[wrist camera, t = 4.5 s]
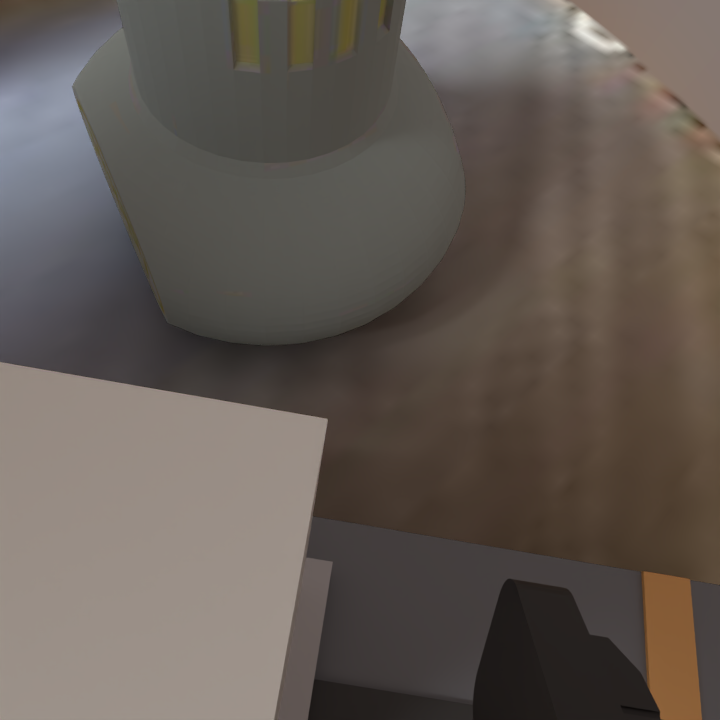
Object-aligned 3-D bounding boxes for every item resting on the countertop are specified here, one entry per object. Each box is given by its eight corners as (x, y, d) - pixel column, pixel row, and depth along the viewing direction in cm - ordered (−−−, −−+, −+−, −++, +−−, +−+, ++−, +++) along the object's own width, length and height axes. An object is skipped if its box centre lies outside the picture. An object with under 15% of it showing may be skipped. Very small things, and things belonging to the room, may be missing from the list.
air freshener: (88, 141, 21) (-52, -247, 13) (318, 81, 24) (337, -283, 15) (208, 427, 17) (127, 157, 9) (469, 322, 20) (619, 23, 11)
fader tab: (34, 844, 11) (-766, 1342, 3) (129, 533, 13) (-131, 274, 5) (280, 881, 11) (265, 1473, 3) (331, 567, 13) (405, 369, 5)
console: (-283, 815, 13) (-438, 849, 10) (-114, 473, 16) (-197, 428, 13) (708, 968, 13) (818, 1040, 11) (680, 606, 17) (759, 590, 14)
